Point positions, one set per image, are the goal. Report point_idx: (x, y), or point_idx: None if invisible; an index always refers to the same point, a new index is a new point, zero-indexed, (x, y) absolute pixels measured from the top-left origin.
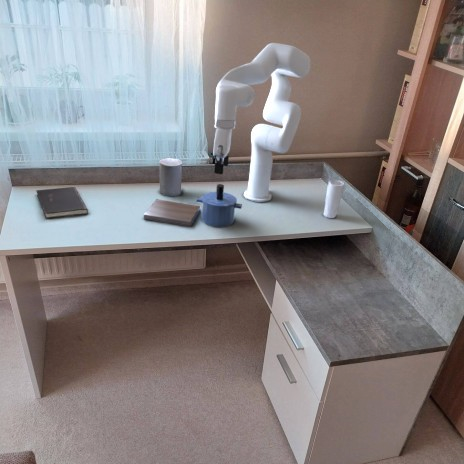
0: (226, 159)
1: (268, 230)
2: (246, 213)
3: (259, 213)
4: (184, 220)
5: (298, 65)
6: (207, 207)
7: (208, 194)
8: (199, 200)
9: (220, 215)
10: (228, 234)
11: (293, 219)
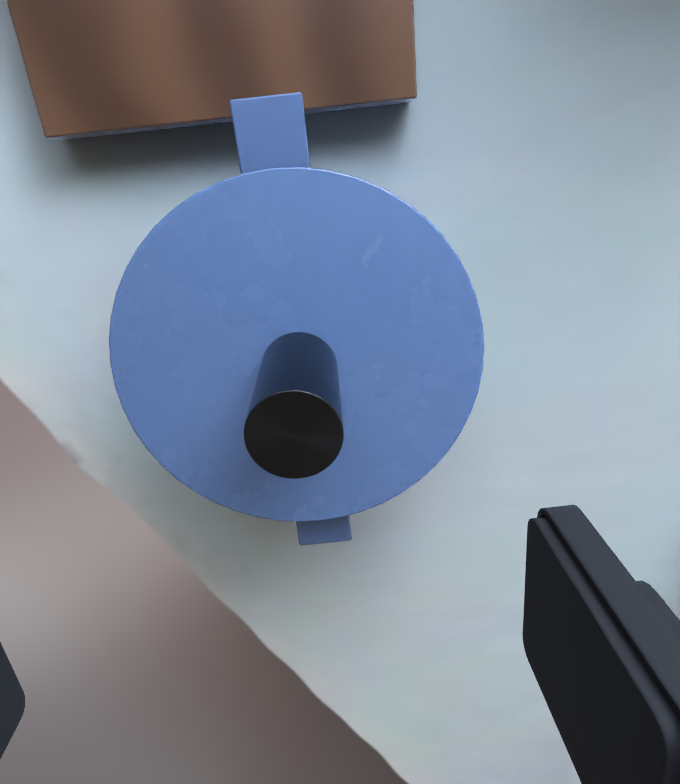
0: (589, 772)
1: (309, 616)
2: (497, 454)
3: None
4: (35, 69)
5: None
6: None
7: (353, 219)
8: (236, 143)
9: None
10: (123, 440)
11: (513, 687)
